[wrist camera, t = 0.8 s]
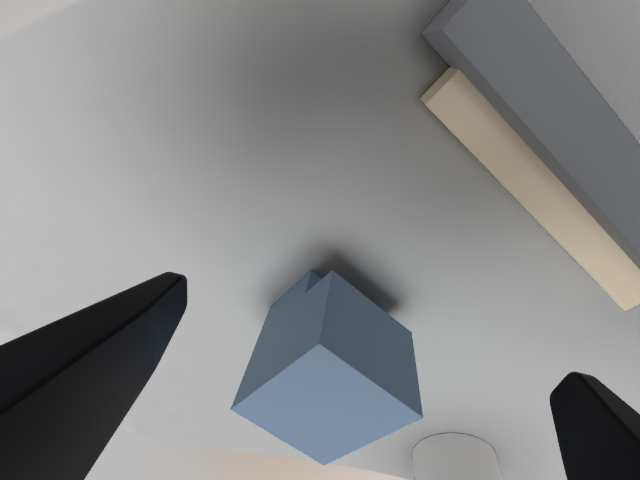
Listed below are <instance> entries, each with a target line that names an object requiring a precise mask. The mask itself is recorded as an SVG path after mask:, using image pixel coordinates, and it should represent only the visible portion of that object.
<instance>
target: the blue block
mask: <svg viewBox="0 0 640 480" xmlns="http://www.w3.org/2000/svg"><path fill="white" fill-rule="evenodd" d="M231 410H233V411H234V412H236V413H238V414H239V415H241V416H243V417H244V418H246V419H248V420H249V421H251V422H253V423H254V424H256V425H258V426H259V427H261V428H263V429H264V430H266V431H268V432H269V433H271V434H273V435H274V436H276V437H278V438H279V439H281V440H283V441H284V442H286V443H288V444H289V445H291V446H293V447H294V448H296V449H298V450H299V451H301V452H303V453H304V454H306V455H308V456H309V457H311V458H313V459H314V460H316V461H318V462H319V463H321V464H323V465H325V464H328V463H330V462H332V461H334V460H336V459H338V458H340V457H342V456H344V455H346V454H348V453H350V452H353V451H355V450H357V449H359V448H361V447H363V446H365V445H367V444H369V443H371V442H373V441H375V440H377V439H379V438H382V437H384V436H386V435H388V434H390V433H392V432H394V431H396V430H398V429H400V428H402V427H404V426H406V425H409V424H411V423H413V422H415V421H417V420H419V419H421V418H423V414H422V407H421V399H420V392H419V385H418V377H417V370H416V362H415V355H414V347H413V340H412V333H411V332H410V331H409V330H408V329H406V328H405V327H404V326H403V325H401V324H400V323H399V322H398V321H396V320H395V319H394V318H393V317H391V316H390V315H389V314H387V313H386V312H385V311H384V310H382V309H381V308H380V307H379V306H377V305H376V304H375V303H374V302H372V301H371V300H370V299H368V298H367V297H366V296H365V295H363V294H362V293H361V292H360V291H358V290H357V289H356V288H355V287H353V286H352V285H351V284H349V283H348V282H347V281H346V280H344V279H343V278H342V277H341V276H339V275H338V274H337V273H336V272H334V271H333V270H331V271H330V272H329V273H328V274H327V275H326V276H325V277H323V278H321V277H320V276H318V275H317V274H316V273H314V272H313V271H312V270H311V271H310V272H309V273H307V274H306V275H305V276H304V277H303V278H302V279H301V280H300V281H299V282H298V283H297V284H295V285H294V286H293V287H292V288H291V289H290V290H289V291H288V292H287V293H286V294H285V295H283V296H282V297H281V298H280V299H279V300H278V301H277V302H276V303H275V304H274V305H273V306H271V307H270V309H269V312H268V315H267V317H266V320H265V322H264V325H263V327H262V330H261V333H260V335H259V338H258V340H257V343H256V345H255V348H254V351H253V353H252V356H251V358H250V361H249V363H248V366H247V369H246V371H245V374H244V376H243V379H242V381H241V384H240V387H239V389H238V392H237V394H236V397H235V400H234V402H233V405H232V407H231Z"/></svg>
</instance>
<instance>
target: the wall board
mask: <svg viewBox="0 0 640 480" xmlns="http://www.w3.org/2000/svg"><path fill="white" fill-rule="evenodd" d="M421 35H422V37H423V38H424V39H425V40H426V41H427V42H428V43H429V44H430V45H431V46H432V48H433V49H434V50H435V51H436V52H437V53H438V54H439V55H440V56H441V57H442V59H443V60H444V61H445V62H446V63H447V64H448V65H449V66H450V67H449V68H448V69H447V70H446V72H445V73H444V74H443V75H442V76H441V77H440V78H439V79H438V80H437V81H436V82H435V83H434V84H433V85H432V86H431V87H430V88H429V89H428V90H427V91H426V92H425V93H424V94H423V95H422V97H421V98H420V99H421V100H422V102H423V103H424V104H425V105H426V106H427V107H428V108H429V109H430V110H431V111H432V112H433V113H434V114H435V115H436V116H437V117H438V118H439V120H440V121H441V122H442V123H443V124H444V125H445V126H446V127H447V128H448V129H449V130H450V131H451V132H452V133H453V134H454V135H455V136H456V137H457V138H458V139H459V140H460V141H461V142H462V143H463V144H464V145H465V146H466V147H467V148H468V150H469V151H470V152H471V153H472V154H473V155H474V156H475V157H476V158H477V159H478V160H479V161H480V162H481V163H482V164H483V165H484V166H485V167H486V168H487V169H488V170H489V171H490V172H491V173H492V174H493V175H494V176H495V177H496V178H497V180H498V181H499V182H500V183H501V184H502V185H503V186H504V187H505V188H506V189H507V190H508V191H509V192H510V193H511V194H512V195H513V196H514V197H515V198H516V199H517V200H518V201H519V202H520V203H521V204H522V205H523V206H524V207H525V208H526V209H527V211H528V212H529V213H530V214H531V215H532V216H533V217H534V218H535V219H536V220H537V221H538V222H539V223H540V224H541V225H542V226H543V227H544V228H545V229H546V230H547V231H548V232H549V233H550V234H551V235H552V236H553V237H554V238H555V239H556V241H557V242H558V243H559V244H560V245H561V246H562V247H563V248H564V249H565V250H566V251H567V252H568V253H569V254H570V255H571V256H572V257H573V258H574V259H575V260H576V261H577V262H578V263H579V264H580V265H581V266H582V267H583V268H584V269H585V271H586V272H587V273H588V274H589V275H590V276H591V277H592V278H593V279H594V280H595V281H596V282H597V283H598V284H599V285H600V286H601V287H602V288H603V289H604V290H605V291H606V292H607V293H608V294H609V295H610V296H611V297H612V298H613V299H614V300H615V302H616V303H617V304H618V305H619V306H620V307H621V308H622V309H623V310H624V311H627V310H629V309H631V308H633V307H635V306H637V305H639V304H640V144H639V143H638V141H637V140H636V139H635V138H634V136H633V135H632V134H631V133H630V131H629V130H628V129H627V127H626V126H625V125H624V124H623V122H622V121H621V120H620V119H619V117H618V116H617V115H616V113H615V112H614V111H613V110H612V108H611V107H610V106H609V104H608V103H607V102H606V101H605V99H604V98H603V97H602V96H601V94H600V93H599V92H598V90H597V89H596V88H595V87H594V85H593V84H592V83H591V82H590V80H589V79H588V78H587V76H586V75H585V74H584V73H583V71H582V70H581V69H580V68H579V66H578V65H577V64H576V62H575V61H574V60H573V59H572V57H571V56H570V55H569V54H568V52H567V51H566V50H565V48H564V47H563V46H562V45H561V43H560V42H559V41H558V40H557V38H556V37H555V36H554V34H553V33H552V32H551V31H550V29H549V28H548V27H547V26H546V24H545V23H544V22H543V20H542V19H541V18H540V17H539V15H538V14H537V13H536V12H535V10H534V9H533V8H532V6H531V5H530V4H529V3H528V1H527V0H449V2H448V3H447V4H446V5H445V6H444V7H443V8H442V10H441V11H440V12H439V13H438V14H437V15H436V17H435V18H434V19H433V20H432V21H431V22H430V23H429V25H428V26H427V27H426V28H425V29H424V30H423V31H422V33H421Z"/></svg>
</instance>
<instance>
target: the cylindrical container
mask: <svg viewBox="0 0 640 480" xmlns="http://www.w3.org/2000/svg"><path fill="white" fill-rule="evenodd" d="M412 455H413V465H414V475H415V480H503V478H502V474H501V471H500V468H499V464H498V461H497V458H496V454H495V451H494V450H493V448H492V447H491V446H490V445H489V444H488V443H487V442H485V441H483V440H481V439H479V438H477V437H474V436H470V435H466V434H459V433H444V434H437V435H433V436H430V437H427V438H425V439H423V440H422V441H420V442H419V443H418V444H417V445H416V446H415V447H414V449H413V454H412Z"/></svg>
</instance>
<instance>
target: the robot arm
mask: <svg viewBox="0 0 640 480" xmlns="http://www.w3.org/2000/svg"><path fill="white" fill-rule="evenodd" d="M186 306H187V279H186V277H185V276H184V275H181V274H177V273H173V272H166V273H163V274H161V275H159V276H156V277H154V278H152V279H150V280H147V281H145V282H143V283H141V284H138V285H136V286H134V287H132V288H129V289H127V290H125V291H122V292H120V293H118V294H116V295H113V296H111V297H109V298H107V299H104V300H102V301H100V302H98V303H95V304H93V305H91V306H89V307H86V308H84V309H82V310H79V311H77V312H75V313H73V314H70V315H68V316H66V317H64V318H61V319H59V320H57V321H55V322H52V323H50V324H48V325H46V326H43V327H41V328H39V329H36V330H34V331H32V332H30V333H27V334H25V335H23V336H21V337H18V338H16V339H14V340H12V341H9V342H7V343H5V344H3V345H0V480H84V479H85V477H86V476H87V474H88V473H89V471H90V470H91V468H92V467H93V465H94V463H95V462H96V460H97V459H98V457H99V456H100V454H101V453H102V451H103V450H104V448H105V447H106V445H107V443H108V442H109V440H110V438H111V437H112V436H113V434H114V433H115V431H116V430H117V428H118V427H119V425H120V423H121V422H122V420H123V419H124V417H125V416H126V414H127V413H128V411H129V410H130V408H131V407H132V405H133V403H134V402H135V400H136V399H137V397H138V396H139V394H140V393H141V391H142V390H143V388H144V387H145V385H146V383H147V382H148V380H149V379H150V377H151V376H152V374H153V372H154V371H155V369H156V367H157V365H158V363H159V361H160V359H161V358H162V356H163V354H164V352H165V350H166V348H167V346H168V344H169V342H170V340H171V338H172V336H173V334H174V332H175V330H176V328H177V326H178V324H179V322H180V320H181V318H182V316H183V314H184V312H185V309H186ZM550 406H551V410H552V415H553V420H554V424H555V429H556V433H557V438H558V442H559V447H560V451H561V456H562V460H563V464H564V469H565V473H566V476H567V480H640V414H638V413H637V412H636V411H635V410H634V409H632V408H631V407H630V406H629V405H628V404H626V403H625V402H624V401H623V400H622V399H620V398H619V397H618V396H617V395H616V394H614V393H613V392H612V391H611V390H610V389H608V388H607V387H606V386H605V385H604V384H602V383H601V382H600V381H599V380H598V379H596V378H595V377H593V376H591V375H587V374H583V373H579V372H571V373H569V374H568V375H567V376H566V377H565V378H564V379H563V380H562V381H561V382H560V383H559V384H558V386H557V387H556V388H555V389H554V390H553V391H552V393H551V395H550Z"/></svg>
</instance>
